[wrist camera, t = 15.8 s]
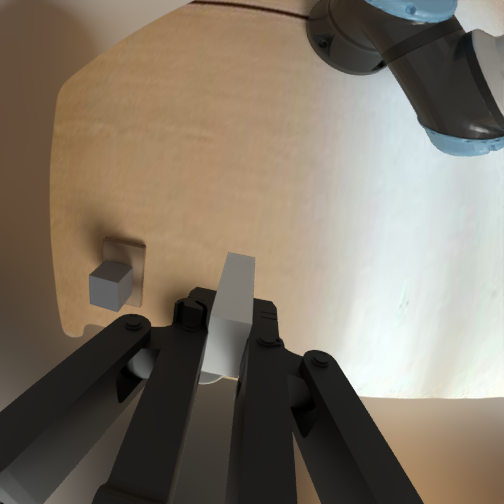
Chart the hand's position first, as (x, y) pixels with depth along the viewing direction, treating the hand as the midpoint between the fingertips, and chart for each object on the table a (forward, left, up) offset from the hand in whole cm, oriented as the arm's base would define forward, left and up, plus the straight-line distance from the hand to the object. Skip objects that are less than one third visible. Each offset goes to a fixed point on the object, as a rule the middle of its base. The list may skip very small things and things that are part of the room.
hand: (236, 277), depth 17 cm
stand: (+19, -20, -32) cm, 43 cm away
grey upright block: (+19, -20, -30) cm, 41 cm away
